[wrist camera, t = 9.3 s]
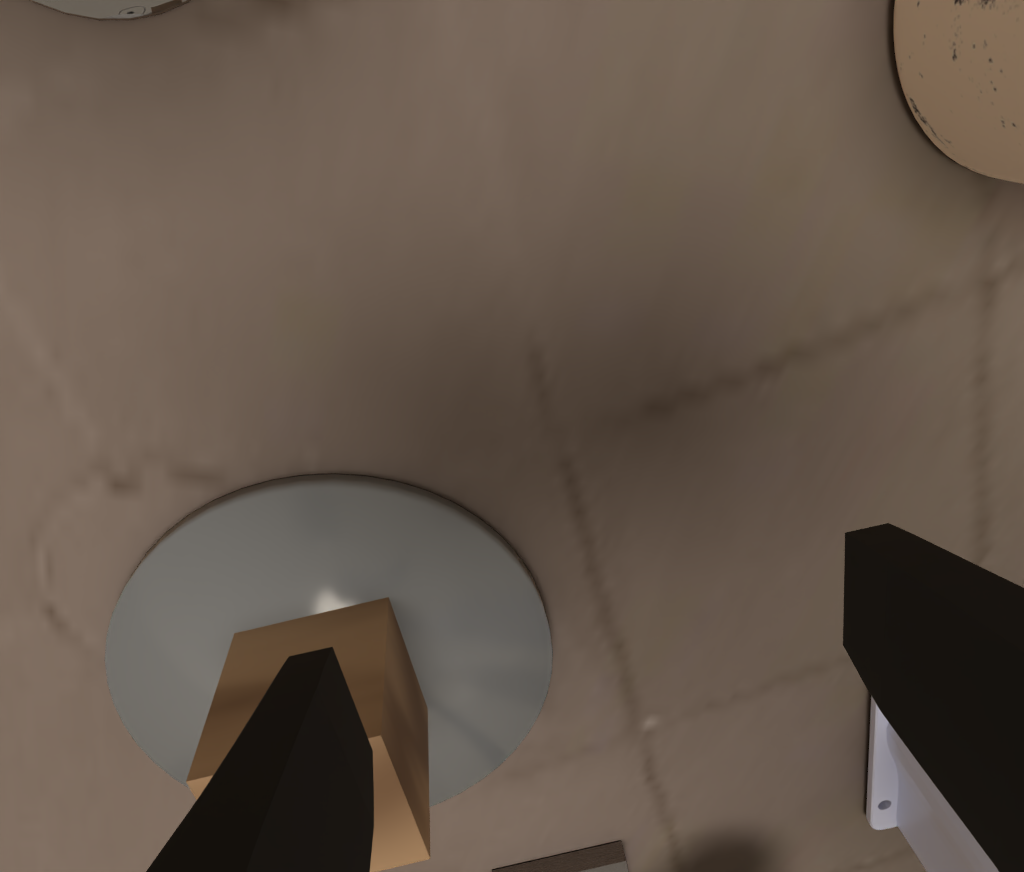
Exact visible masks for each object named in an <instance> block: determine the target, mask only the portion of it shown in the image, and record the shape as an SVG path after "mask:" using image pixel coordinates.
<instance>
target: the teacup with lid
mask: <svg viewBox="0 0 1024 872" xmlns="http://www.w3.org/2000/svg"><path fill="white" fill-rule="evenodd" d="M893 33H894V49H895V57H896V63H897V70H898V74H899V78H900V82H901V86H902V89H903V92H904V94H905V97H906V100H907V102H908V105H909V107H910V109H911V111H912V113H913V115H914V117H915V119H916V120H917V122H918V123H919V125H920V126H921V128H922V129H923V131H924V132H925V134H926V135H927V136H928V137H929V138H930V140H931V141H932V142H933V143H934V144H935V145H936V146H937V147H938V148H939V149H940V150H941V151H942V152H943V153H945V154H946V155H947V156H948V157H950V158H951V159H953V160H954V161H955V162H957V163H958V164H960V165H962V166H964V167H966V168H968V169H970V170H972V171H974V172H977V173H979V174H982V175H985V176H988V177H991V178H996V179H1001V180H1005V181H1011V182H1016V183H1021V184H1024V0H895V6H894V29H893Z"/></svg>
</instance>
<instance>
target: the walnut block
mask: <svg viewBox="0 0 1024 872" xmlns="http://www.w3.org/2000/svg"><path fill="white" fill-rule="evenodd" d="M329 647H333V649H334V652H335V654H336V657H337V659H338V662H339V665H340V667H341V670H342V672H343V675H344V678H345V680H346V683H347V685H348V688H349V691H350V693H351V696H352V698H353V701H354V703H355V706H356V709H357V711H358V714H359V716H360V719H361V722H362V724H363V727H364V729H365V732H366V735H367V737H368V740H369V742H370V745H371V747H372V750H373V781H374V831H373V842H372V853H371V863H370V872H377V871H381V870H386V869H390V868H394V867H398V866H402V865H406V864H411V863H415V862H419V861H423V860H427V859H430V813H429V749H428V708H427V705H426V702H425V699H424V697H423V694H422V691H421V688H420V685H419V682H418V679H417V677H416V674H415V671H414V668H413V665H412V662H411V659H410V657H409V654H408V651H407V648H406V645H405V642H404V639H403V637H402V634H401V631H400V628H399V625H398V622H397V620H396V617H395V614H394V611H393V608H392V605H391V602H390V600H389V597H387V598H383V599H378V600H374V601H370V602H366V603H361V604H357V605H353V606H348V607H344V608H340V609H336V610H331V611H327V612H323V613H319V614H314V615H310V616H306V617H302V618H297V619H293V620H289V621H285V622H280V623H276V624H272V625H268V626H263V627H259V628H255V629H251V630H246V631H242V632H238V633H234V636H233V639H232V642H231V645H230V648H229V651H228V654H227V657H226V660H225V664H224V667H223V670H222V673H221V676H220V679H219V682H218V685H217V688H216V691H215V694H214V697H213V700H212V703H211V706H210V710H209V713H208V716H207V719H206V722H205V725H204V728H203V731H202V734H201V737H200V740H199V743H198V746H197V749H196V752H195V756H194V759H193V762H192V765H191V768H190V771H189V774H188V777H187V780H186V783H187V784H188V786H189V788H190V789H191V791H192V793H193V795H194V796H195V798H196V800H197V799H198V798H199V796H200V795H201V793H202V792H203V790H204V789H205V787H206V786H207V784H208V783H209V781H210V780H211V778H212V776H213V775H214V773H215V772H216V770H217V769H218V767H219V766H220V764H221V763H222V761H223V760H224V758H225V757H226V755H227V753H228V752H229V750H230V749H231V747H232V746H233V744H234V743H235V741H236V739H237V738H238V736H239V735H240V733H241V731H242V730H243V728H244V727H245V725H246V723H247V722H248V720H249V719H250V717H251V715H252V714H253V712H254V711H255V709H256V707H257V706H258V704H259V702H260V701H261V699H262V698H263V696H264V694H265V693H266V691H267V690H268V688H269V686H270V685H271V683H272V681H273V680H274V678H275V677H276V675H277V674H278V672H279V670H280V669H281V667H282V666H283V664H284V663H285V661H286V660H287V658H288V657H289V656H293V655H297V654H302V653H306V652H311V651H315V650H320V649H324V648H329Z"/></svg>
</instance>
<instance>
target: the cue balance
mask: <svg viewBox="0 0 1024 872" xmlns="http://www.w3.org/2000/svg"><path fill="white" fill-rule="evenodd" d="M492 872H628V868H627V863H626V858H625V854H624V851H623V847H622V843H621V841H619V842H614V843H610V844H606V845H601V846H597V847H593V848H588V849H584V850H579V851H575V852H571V853H566V854H562V855H557V856H553V857H549V858H544V859H540V860H536V861H531V862H527V863H522V864H518V865H514V866H509V867H505V868H501V869H496V870H492Z"/></svg>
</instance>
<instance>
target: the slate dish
mask: <svg viewBox="0 0 1024 872" xmlns="http://www.w3.org/2000/svg"><path fill="white" fill-rule="evenodd" d="M387 597H389V600H390V602H391V605H392V608H393V611H394V614H395V617H396V620H397V622H398V625H399V628H400V631H401V634H402V637H403V639H404V642H405V645H406V648H407V651H408V654H409V657H410V659H411V662H412V665H413V668H414V671H415V674H416V677H417V679H418V682H419V685H420V688H421V691H422V694H423V697H424V699H425V702H426V705H427V708H428V749H429V807H431V806H433V805H436V804H439V803H441V802H443V801H445V800H447V799H449V798H451V797H453V796H455V795H457V794H459V793H461V792H463V791H465V790H466V789H468V788H469V787H471V786H473V785H474V784H476V783H477V782H479V781H481V780H482V779H483V778H485V777H486V776H487V775H488V774H490V773H491V772H492V771H493V770H495V769H496V768H497V767H498V766H500V765H501V764H502V763H503V762H504V761H505V760H506V759H507V758H508V757H509V756H510V755H511V754H512V753H513V752H514V751H515V750H516V748H517V747H518V746H519V744H520V743H521V742H522V741H523V739H524V738H525V737H526V735H527V734H528V733H529V731H530V729H531V728H532V726H533V724H534V722H535V721H536V719H537V717H538V715H539V714H540V711H541V708H542V706H543V703H544V701H545V698H546V695H547V692H548V688H549V683H550V678H551V674H552V653H553V651H552V643H551V635H550V629H549V624H548V620H547V616H546V612H545V609H544V605H543V602H542V599H541V595H540V592H539V590H538V588H537V586H536V584H535V582H534V580H533V578H532V576H531V574H530V572H529V570H528V569H527V567H526V566H525V564H524V563H523V562H522V560H521V559H520V557H519V556H518V554H517V553H516V552H515V551H514V550H513V548H512V547H511V546H510V545H509V544H508V543H507V542H506V541H505V540H504V539H503V538H502V537H501V536H500V535H499V534H498V533H497V532H496V531H495V530H493V529H492V528H491V527H489V526H488V525H487V524H486V523H484V522H483V521H482V520H481V519H479V518H478V517H477V516H475V515H473V514H472V513H470V512H468V511H467V510H465V509H463V508H462V507H460V506H458V505H457V504H455V503H453V502H451V501H449V500H447V499H444V498H442V497H440V496H438V495H435V494H433V493H431V492H429V491H426V490H423V489H420V488H416V487H413V486H410V485H407V484H403V483H400V482H396V481H391V480H385V479H380V478H375V477H369V476H358V475H344V474H321V475H302V476H296V477H289V478H283V479H277V480H271V481H267V482H264V483H260V484H257V485H253V486H250V487H246V488H242V489H240V490H237V491H235V492H233V493H230V494H228V495H225V496H223V497H221V498H218V499H216V500H214V501H212V502H210V503H208V504H207V505H205V506H203V507H201V508H200V509H198V510H196V511H195V512H193V513H191V514H189V515H188V516H187V517H185V518H184V519H183V520H181V521H180V522H179V523H178V524H176V525H175V526H174V527H172V528H171V529H170V530H169V531H167V532H166V533H165V534H164V535H163V536H162V537H161V538H160V539H159V540H158V541H157V542H156V544H155V545H154V546H153V547H152V548H151V549H150V550H149V551H148V552H147V553H146V555H145V556H144V558H143V559H142V561H141V562H140V564H139V565H138V566H137V568H136V569H135V571H134V572H133V574H132V576H131V577H130V579H129V581H128V583H127V584H126V586H125V588H124V590H123V592H122V594H121V596H120V598H119V600H118V603H117V605H116V607H115V609H114V611H113V613H112V617H111V621H110V625H109V629H108V633H107V637H106V651H105V666H106V675H107V683H108V686H109V690H110V693H111V696H112V700H113V703H114V706H115V708H116V710H117V712H118V714H119V716H120V718H121V720H122V722H123V724H124V726H125V727H126V729H127V730H128V732H129V733H130V735H131V736H132V738H133V739H134V740H135V742H136V743H137V745H138V746H139V747H140V748H141V749H142V750H143V751H144V752H145V753H146V754H147V755H148V757H149V758H150V759H151V760H152V761H153V762H154V763H155V764H157V765H158V766H159V767H160V768H161V769H163V770H164V771H165V772H166V773H167V774H169V775H170V776H171V777H172V778H174V779H175V780H177V781H178V782H180V783H181V784H183V785H185V786H186V787H188V788H189V786H188V784H187V783H186V780H187V777H188V774H189V771H190V768H191V765H192V762H193V759H194V756H195V752H196V749H197V746H198V743H199V740H200V737H201V734H202V731H203V728H204V725H205V722H206V719H207V716H208V713H209V710H210V706H211V703H212V700H213V697H214V694H215V691H216V688H217V685H218V682H219V679H220V676H221V673H222V670H223V667H224V664H225V660H226V657H227V654H228V651H229V648H230V645H231V642H232V639H233V636H234V633H238V632H242V631H246V630H251V629H255V628H259V627H263V626H268V625H272V624H276V623H280V622H285V621H289V620H293V619H297V618H302V617H306V616H310V615H314V614H319V613H323V612H327V611H331V610H336V609H340V608H344V607H348V606H353V605H357V604H361V603H366V602H370V601H374V600H378V599H383V598H387ZM189 789H190V788H189Z"/></svg>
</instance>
